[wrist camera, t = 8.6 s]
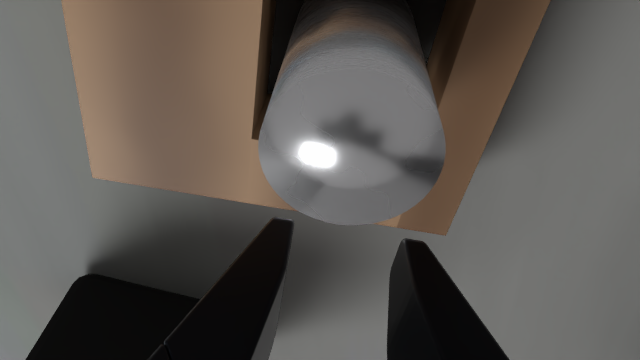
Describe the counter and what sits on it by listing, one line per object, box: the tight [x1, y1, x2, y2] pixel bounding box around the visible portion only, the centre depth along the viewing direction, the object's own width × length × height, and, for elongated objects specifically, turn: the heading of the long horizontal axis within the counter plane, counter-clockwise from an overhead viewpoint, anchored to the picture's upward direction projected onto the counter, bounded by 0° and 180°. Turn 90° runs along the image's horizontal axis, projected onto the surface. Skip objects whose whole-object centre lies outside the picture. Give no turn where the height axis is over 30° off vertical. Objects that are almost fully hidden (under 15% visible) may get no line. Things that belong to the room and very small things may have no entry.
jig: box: [61, 0, 551, 236], centre depth 16 cm, size 14×12×4 cm
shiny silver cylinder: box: [258, 0, 446, 225], centre depth 15 cm, size 4×4×8 cm
